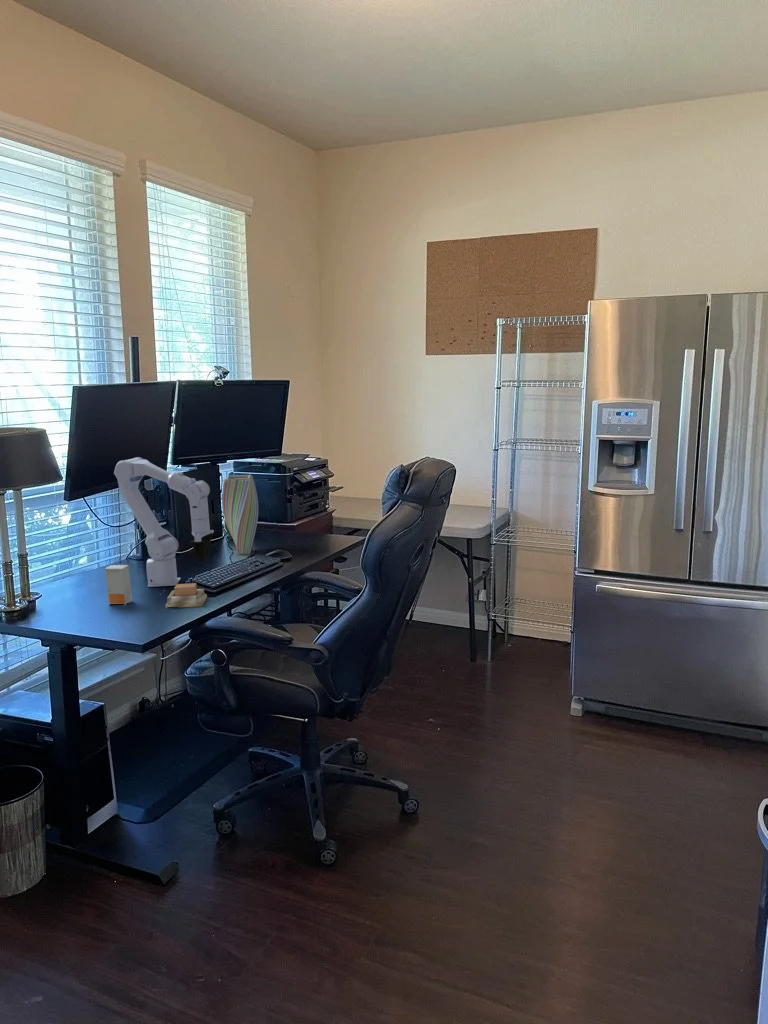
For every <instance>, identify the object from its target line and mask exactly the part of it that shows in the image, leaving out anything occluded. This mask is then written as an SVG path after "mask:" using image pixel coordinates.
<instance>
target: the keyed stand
mask: <svg viewBox="0 0 768 1024" xmlns="http://www.w3.org/2000/svg"><path fill="white" fill-rule="evenodd" d="M207 598H208V595H207V593H205V588H197V595H194V596H175V589H174V590H172V591H171V592H170V593H169V595H168V596H167V598H166V600H167V601H166V603H165V609H168V608H167V607H178V608H190V607H191V608H194V607H195V608H196V607H203V605H204V604H205V601H206V600H207Z"/></svg>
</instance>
